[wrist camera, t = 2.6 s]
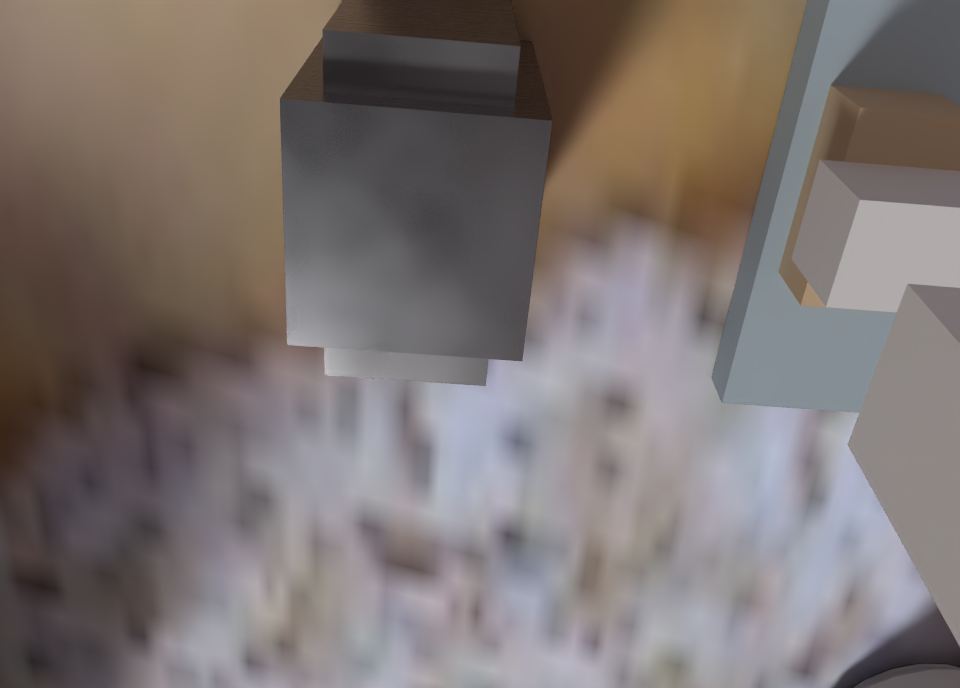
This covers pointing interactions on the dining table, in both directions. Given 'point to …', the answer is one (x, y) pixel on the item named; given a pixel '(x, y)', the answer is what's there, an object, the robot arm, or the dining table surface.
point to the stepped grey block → (414, 189)
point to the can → (916, 677)
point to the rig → (848, 204)
